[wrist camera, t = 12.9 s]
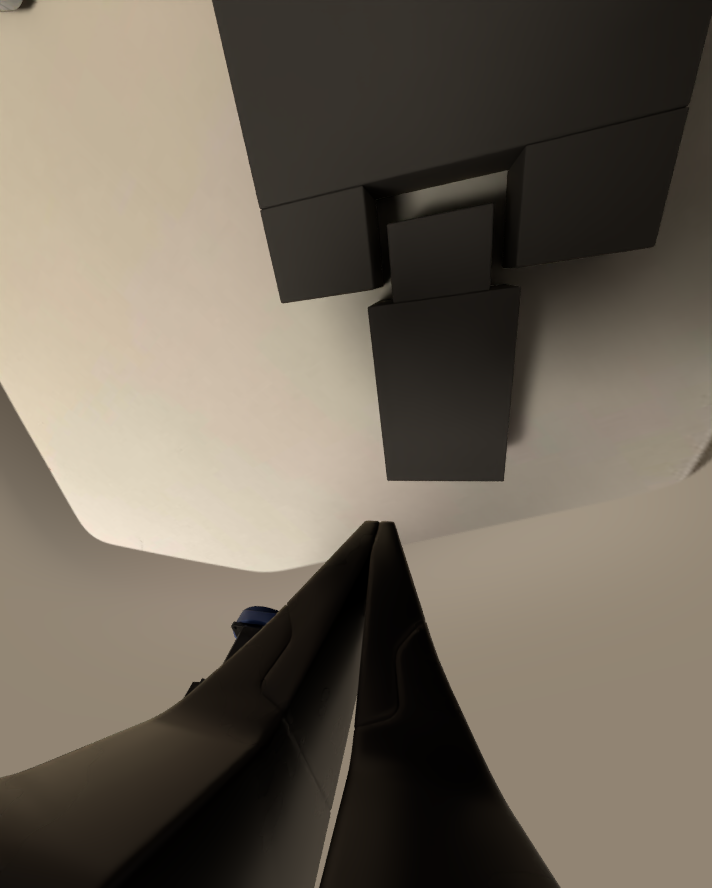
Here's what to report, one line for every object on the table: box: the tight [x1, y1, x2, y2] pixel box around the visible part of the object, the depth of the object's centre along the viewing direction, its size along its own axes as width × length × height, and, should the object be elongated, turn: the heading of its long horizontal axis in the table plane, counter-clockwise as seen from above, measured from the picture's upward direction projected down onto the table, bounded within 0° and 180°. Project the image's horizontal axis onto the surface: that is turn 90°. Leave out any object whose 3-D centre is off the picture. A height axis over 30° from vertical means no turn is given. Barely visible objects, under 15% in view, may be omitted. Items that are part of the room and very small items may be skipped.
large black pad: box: [212, 0, 712, 303], centre depth 10 cm, size 14×14×3 cm
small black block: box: [368, 203, 521, 481], centre depth 15 cm, size 6×12×3 cm, turn 8°
